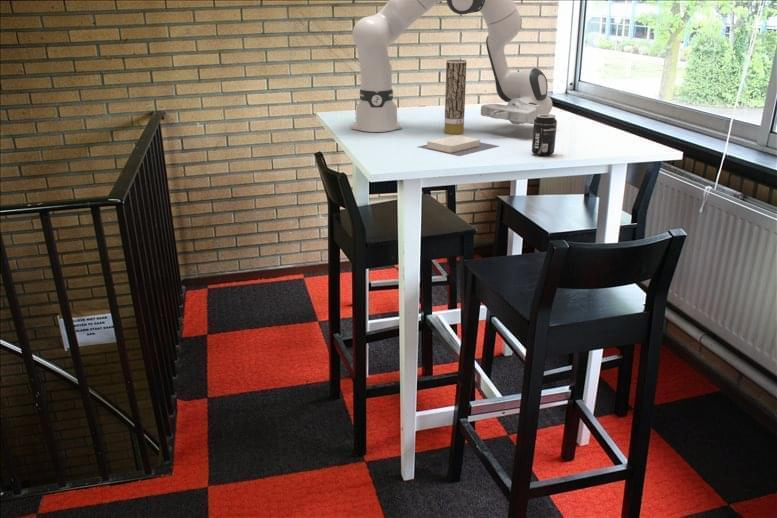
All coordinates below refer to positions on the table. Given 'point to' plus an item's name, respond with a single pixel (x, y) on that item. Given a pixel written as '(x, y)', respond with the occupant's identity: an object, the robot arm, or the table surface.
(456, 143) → the tile
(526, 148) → the table surface
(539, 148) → the beverage can
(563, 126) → the table surface
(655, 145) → the table surface
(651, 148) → the table surface
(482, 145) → the mat
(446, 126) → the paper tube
